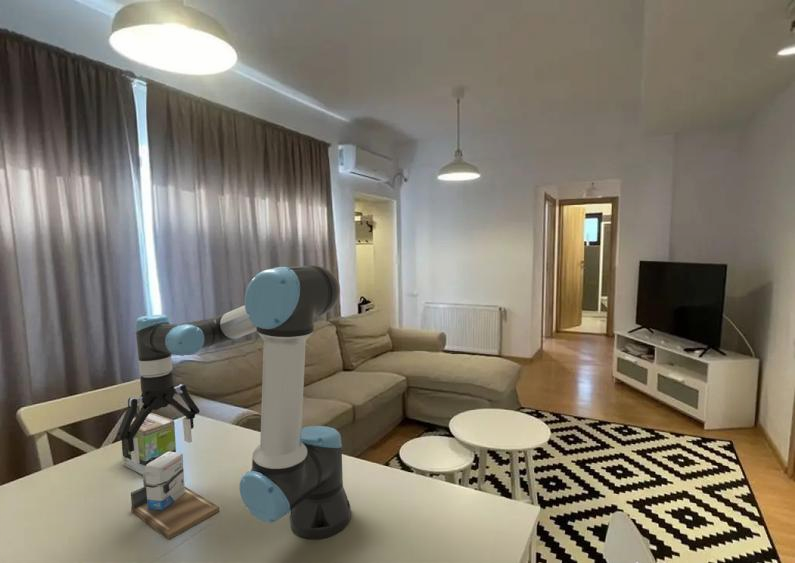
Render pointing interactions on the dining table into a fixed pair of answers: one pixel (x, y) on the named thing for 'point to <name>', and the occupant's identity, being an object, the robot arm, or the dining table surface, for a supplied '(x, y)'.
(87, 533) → the dining table surface
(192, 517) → the header board
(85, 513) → the dining table surface
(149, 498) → the ink box
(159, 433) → the tea box
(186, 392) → the robot arm
